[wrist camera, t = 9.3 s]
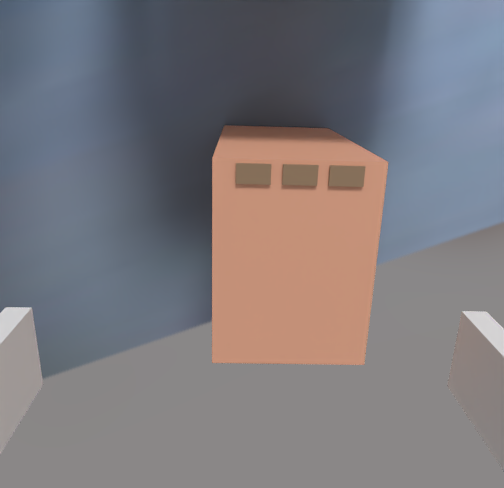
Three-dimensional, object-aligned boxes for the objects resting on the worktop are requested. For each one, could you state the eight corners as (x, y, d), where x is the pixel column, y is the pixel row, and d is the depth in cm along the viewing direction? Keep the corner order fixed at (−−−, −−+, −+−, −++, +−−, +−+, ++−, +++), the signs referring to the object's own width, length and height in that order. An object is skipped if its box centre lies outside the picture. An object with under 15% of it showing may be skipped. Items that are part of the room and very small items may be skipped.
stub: (224, 125, 28) (212, 158, 16) (328, 128, 28) (389, 162, 16) (222, 256, 30) (211, 364, 19) (318, 258, 30) (364, 366, 19)
